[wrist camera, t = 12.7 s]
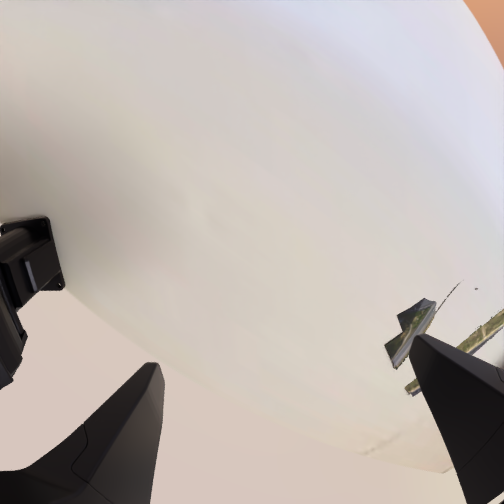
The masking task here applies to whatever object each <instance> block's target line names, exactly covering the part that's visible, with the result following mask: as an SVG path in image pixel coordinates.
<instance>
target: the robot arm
mask: <svg viewBox="0 0 504 504" xmlns="http://www.w3.org/2000/svg"><path fill="white" fill-rule="evenodd" d="M43 221H44V222H45V225H44V223H43ZM4 230H5V231H4ZM0 233H1V237H0V390H1V389H2V388H3V387H5V386H7V385H8V384H10V383H12V382H13V378H12V377H13V375H14V374H15V372H16V370H17V368H18V367H19V366H20V364H21V362H22V359H23V358H22V356H21V354H22V352H23V348H24V346H25V343H26V340H27V337H28V336H27V333H26V331H25V330H24V329H23V327H22V325H21V323H20V320H19V318H18V315H17V312H18V310H19V309H20V308H22V307H23V306H24V305H25V304H26V303H27V302H28V301H29V300H30V299H31V298H32V297H33V296H34V295H35V294H36V293H37V292H39V291H60V290H62V289H63V288H64V287H65V282H64V278H63V275H62V271H61V267H60V263H59V260H58V256H57V252H56V247H55V243H54V239H53V235H52V230H51V225H50V221H49V219H48V217H45V216H44V217H38V218H32V219H27V220H21V221H16V222H11V223H5V224H3V225H1V226H0ZM59 283H60V285H61V286H60V285H59ZM409 359H410V362H411V364H412V367H413V370H414V372H415V375H416V378H417V380H418V383H419V386H420V389H421V391H422V393H423V395H424V397H425V400H426V402H427V404H428V406H429V408H430V410H431V412H432V415H433V417H434V419H435V421H436V424H437V426H438V428H439V431H440V433H441V435H442V438H443V440H444V442H445V445H446V447H447V450H448V452H449V455H450V457H451V460H452V462H453V465H454V468H455V470H456V472H457V476H458V479H459V482H460V485H461V487H462V490H463V493H464V496H465V499H466V503H467V504H487V503H489V502H490V501H491V500H493V499H494V498H496V497H497V496H498V495H500V494H501V493H502V492H504V370H502V369H500V368H498V367H495V366H494V365H491V364H489V363H487V362H485V361H483V360H481V359H479V358H476V357H474V356H472V355H470V354H468V353H466V352H464V351H462V350H459V349H457V348H455V347H453V346H451V345H449V344H447V343H444V342H442V341H440V340H438V339H436V338H434V337H432V336H430V335H427V334H425V333H422V334H418V335H415V337H414V338H413V341H412V344H411V347H410V350H409ZM164 390H165V382H164V378H163V374H162V372H161V368H160V365H159V364H158V363H156V362H147V363H145V364H144V365H143V366H142V367H141V368H140V369H139V370H138V371H137V372H136V373H135V374H134V375H133V376H132V377H131V378H130V379H129V380H127V381H126V382H125V383H124V384H123V385H122V386H121V387H120V388H119V389H118V390H117V391H116V392H115V393H114V394H113V395H112V396H111V397H110V398H109V399H108V400H107V401H105V403H103V405H101V406H100V407H99V408H98V409H97V410H96V411H95V412H94V413H93V414H92V415H91V416H90V417H89V418H88V419H87V420H86V421H85V422H84V424H81V426H79V427H78V428H77V429H76V430H75V431H74V432H73V433H72V434H71V435H70V436H68V437H67V438H66V439H65V440H64V441H62V442H61V443H60V444H59V445H57V446H56V447H55V448H54V449H52V450H51V451H49V452H48V453H47V454H45V455H44V456H43V457H41V458H40V459H39V460H37V461H36V462H35V463H33V464H32V465H30V466H28V467H26V468H24V469H21V470H15V471H0V504H150V499H151V492H152V485H153V478H154V470H155V465H156V459H157V452H158V446H159V441H160V435H161V429H162V421H163V405H164ZM499 504H504V500H503V501H502V502H500V503H499Z"/></svg>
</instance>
